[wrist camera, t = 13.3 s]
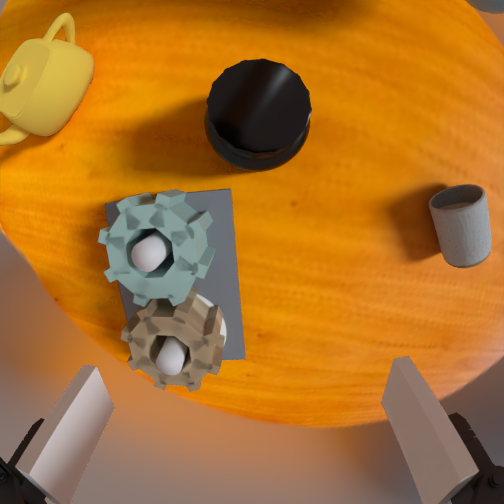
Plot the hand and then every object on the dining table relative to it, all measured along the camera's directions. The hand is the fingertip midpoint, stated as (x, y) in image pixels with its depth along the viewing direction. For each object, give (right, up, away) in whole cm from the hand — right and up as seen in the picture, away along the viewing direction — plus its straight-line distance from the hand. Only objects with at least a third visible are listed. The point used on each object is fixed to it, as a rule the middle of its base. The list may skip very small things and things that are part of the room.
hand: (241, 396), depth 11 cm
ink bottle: (+1, +19, +17) cm, 26 cm away
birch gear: (-8, -2, +21) cm, 23 cm away
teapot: (-24, +26, +15) cm, 38 cm away
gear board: (-8, +3, +22) cm, 23 cm away
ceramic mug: (+26, +11, +20) cm, 35 cm away
